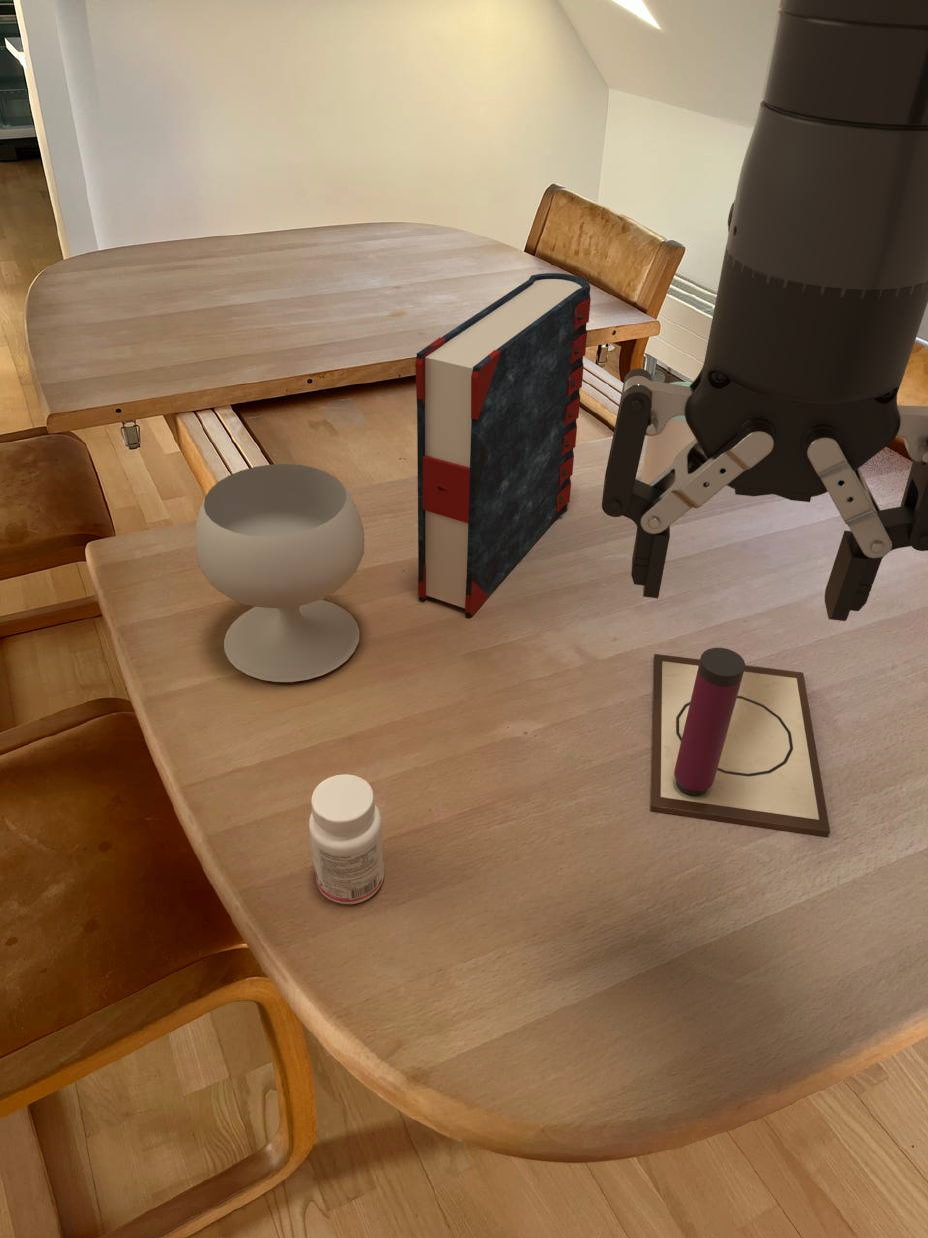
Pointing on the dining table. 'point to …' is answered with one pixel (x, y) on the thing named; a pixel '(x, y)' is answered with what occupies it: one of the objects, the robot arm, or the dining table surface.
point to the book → (497, 435)
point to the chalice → (282, 567)
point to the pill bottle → (346, 839)
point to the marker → (708, 719)
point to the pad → (742, 751)
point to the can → (666, 446)
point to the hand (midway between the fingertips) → (741, 599)
